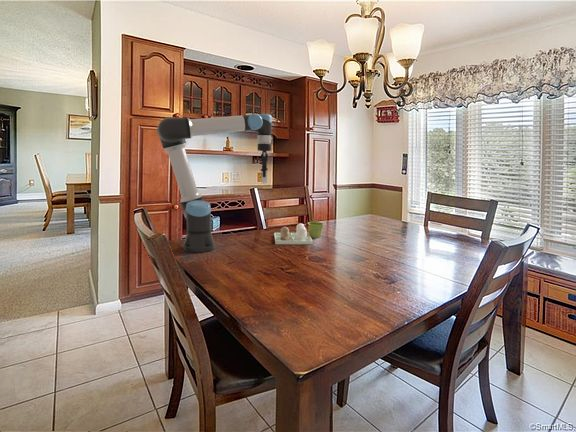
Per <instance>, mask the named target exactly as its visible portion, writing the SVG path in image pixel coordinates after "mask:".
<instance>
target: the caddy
mask: <svg viewBox="0 0 576 432" xmlns="http://www.w3.org/2000/svg"><path fill="white" fill-rule="evenodd" d="M273 236H274V244H275V245H314V241H313V239H312V237H310V232H307V239H306V241H298V236H296V232H289V241H280V236H281V232H274V233H273Z"/></svg>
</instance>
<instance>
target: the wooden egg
mask: <svg viewBox="0 0 576 432" xmlns="http://www.w3.org/2000/svg"><path fill="white" fill-rule="evenodd" d="M280 233H281V236H280V241H289V233H290V229H289V227H287V226H283V227H281V228H280Z"/></svg>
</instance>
